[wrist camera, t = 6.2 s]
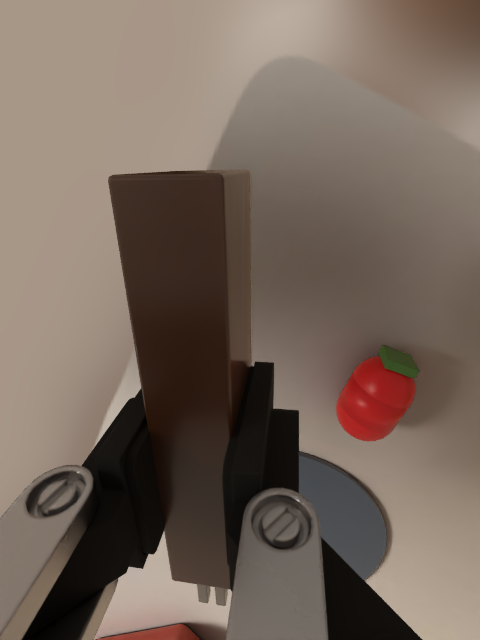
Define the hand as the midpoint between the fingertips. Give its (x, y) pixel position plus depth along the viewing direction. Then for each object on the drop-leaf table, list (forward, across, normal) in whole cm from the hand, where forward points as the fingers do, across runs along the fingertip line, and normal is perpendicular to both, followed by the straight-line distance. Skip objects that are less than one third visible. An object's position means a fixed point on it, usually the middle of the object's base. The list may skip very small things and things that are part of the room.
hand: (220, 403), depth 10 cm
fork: (0, 0, +2) cm, 2 cm away
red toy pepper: (+12, -7, +7) cm, 16 cm away
